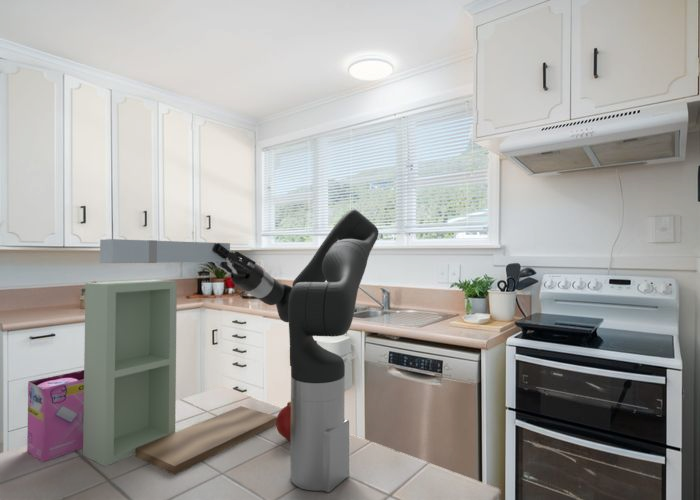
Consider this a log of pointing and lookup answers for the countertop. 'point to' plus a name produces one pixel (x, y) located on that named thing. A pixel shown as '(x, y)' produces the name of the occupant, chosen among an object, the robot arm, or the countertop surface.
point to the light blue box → (157, 251)
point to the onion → (284, 422)
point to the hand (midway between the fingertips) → (207, 246)
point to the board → (204, 439)
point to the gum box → (55, 415)
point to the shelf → (128, 366)
